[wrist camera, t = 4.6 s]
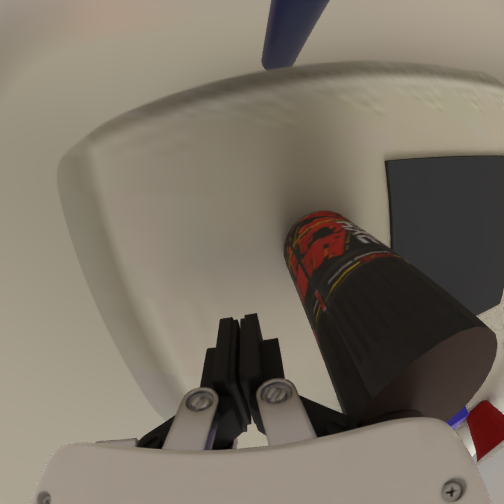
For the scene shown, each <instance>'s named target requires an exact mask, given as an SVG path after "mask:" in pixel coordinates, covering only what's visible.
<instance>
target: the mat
mask: <svg viewBox="0 0 504 504" xmlns="http://www.w3.org/2000/svg"><path fill="white" fill-rule="evenodd" d="M385 164H386V173H387V182H388V193H389V207H390V225H391V249H392V250H393V251H394V252H396V253H397V254H398V255H400V256H401V257H403V258H404V259H405V260H407V261H408V262H409V263H411V264H412V265H413V266H415V267H416V268H417V269H419V270H420V271H421V272H423V273H424V274H425V275H427V276H428V277H429V278H430V279H432V280H433V281H434V282H436V283H437V284H438V285H439V286H441V287H442V288H443V289H444V290H446V291H447V292H448V293H449V294H450V295H452V296H453V297H454V298H455V299H457V300H458V301H459V302H460V303H461V304H462V305H464V306H465V307H466V308H467V309H468V310H469V311H471V312H472V313H473V314H474V315H475V316H476V315H478V314H481V313H483V312H485V311H487V310H489V309H491V308H493V307H494V306H496V305H498V304H500V302H501V297H502V293H503V289H504V156H450V157H429V158H414V159H401V160H389V161H385Z"/></svg>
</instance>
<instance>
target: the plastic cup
mask: <svg viewBox="0 0 504 504" xmlns="http://www.w3.org/2000/svg"><path fill="white" fill-rule="evenodd" d="M466 419H467V423H468V426H469V429H470V433H471V436H472V439H473V442H474V446H475V449H476V454H477V464H476V466H477V465H479V464H481V463H483V462H485V461H486V460H488V459H489V458H490V457H492V456H493V455H495V454H496V453H497V452H499V451H500V450H501V449H503V448H504V415H503V414H502V413H501V412H500V411H499V410H498V409H497V408H495V407H494V406H493V405H492V404H491V403H490V402H488V401H483V402H482V403H480V404H479V405H478V406H476V407H475V408H474V409H473V410H472V411H471V412H470V414H469V415H468V416H467V418H466Z"/></svg>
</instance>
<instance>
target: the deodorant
mask: <svg viewBox="0 0 504 504" xmlns="http://www.w3.org/2000/svg"><path fill="white" fill-rule="evenodd" d="M284 257H285V261H286V265H287V267H288V270H289V272H290V275H291V277H292V280H293V282H294V285H295V287H296V290H297V292H298V295H299V297H300V300H301V302H302V305H303V307H304V310H305V313H306V315H307V318H308V320H309V323H310V325H311V328H312V331H313V333H314V336H315V338H316V341H317V344H318V346H319V349H320V352H321V354H322V357H323V360H324V362H325V365H326V368H327V370H328V373H329V376H330V378H331V381H332V384H333V387H334V389H335V392H336V395H337V398H338V401H339V403H340V406H341V409H342V412H343V414H345V415H347V416H349V417H351V418H353V420H354V421H355V422H356V424H357V425H359V424H361V423H362V421H365V420H368V419H371V418H374V417H377V416H380V415H382V414H385V413H388V412H394V411H400V410H406V409H415V410H418V411H420V412H421V413H422V414H423V415H424V417H429V418H436V419H440V420H442V421H444V422H448V421H449V420H450V419H451V418H452V417H454V416H455V415H456V414H457V413H458V412H459V411H460V410H461V409H462V408H463V407H464V406H465V405H466V404H467V403H468V402H469V401H470V400H471V399H472V397H473V396H474V395H475V394H476V392H477V391H478V390H479V388H480V387H481V386H482V384H483V382H484V381H485V379H486V377H487V376H488V374H489V372H490V370H491V368H492V365H493V362H494V360H495V357H496V351H497V339H496V335H495V333H494V332H493V331H492V330H491V329H490V328H489V327H488V326H486V325H485V324H484V323H483V322H482V321H481V320H480V319H479V318H478V317H476V316H475V315H474V314H473V313H472V312H471V311H469V310H468V309H467V308H466V307H465V306H464V305H462V304H461V303H460V302H459V301H458V300H457V299H455V298H454V297H453V296H452V295H450V294H449V293H448V292H447V291H446V290H444V289H443V288H442V287H441V286H439V285H438V284H437V283H436V282H434V281H433V280H432V279H430V278H429V277H428V276H427V275H425V274H424V273H423V272H421V271H420V270H419V269H417V268H416V267H415V266H413V265H412V264H411V263H409V262H408V261H407V260H405V259H404V258H403V257H401V256H400V255H398V254H397V253H396V252H394V251H393V250H392V249H390V248H389V247H387V246H386V245H384V244H383V243H382V242H380V241H379V240H377V239H376V238H374V237H373V236H371V235H370V234H369V233H367V232H366V231H364V230H363V229H361V228H360V227H358V226H357V225H355V224H354V223H352V222H351V221H349V220H348V219H346V218H344V217H343V216H341V215H340V214H338V213H334V212H331V211H317V212H314V213H310V214H308V215H306V216H305V217H303V218H301V219H300V220H299V221H298V222H297V223H296V224H295V225H294V226H293V227H292V228H291V230H290V232H289V233H288V235H287V238H286V241H285V245H284Z"/></svg>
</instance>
